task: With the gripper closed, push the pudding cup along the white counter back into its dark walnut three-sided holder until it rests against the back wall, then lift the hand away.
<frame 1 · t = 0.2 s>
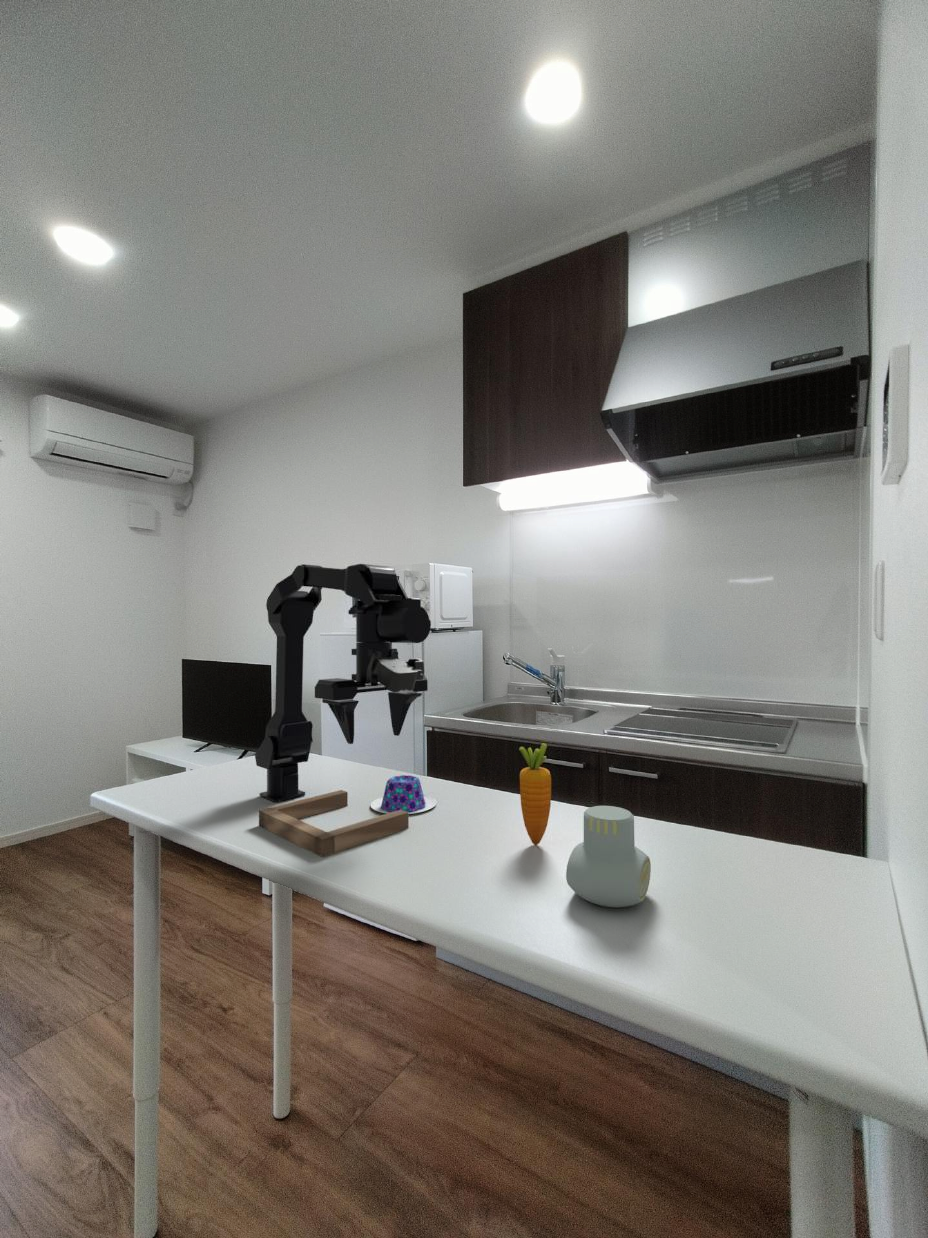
hand: (374, 739, 91), 14 cm above the table, fingers open, 9 cm apart
holder: (338, 825, 93), on the table
pudding: (403, 808, 103), on the table
carrot: (535, 846, 84), on the table
air freshener: (609, 898, 68), on the table
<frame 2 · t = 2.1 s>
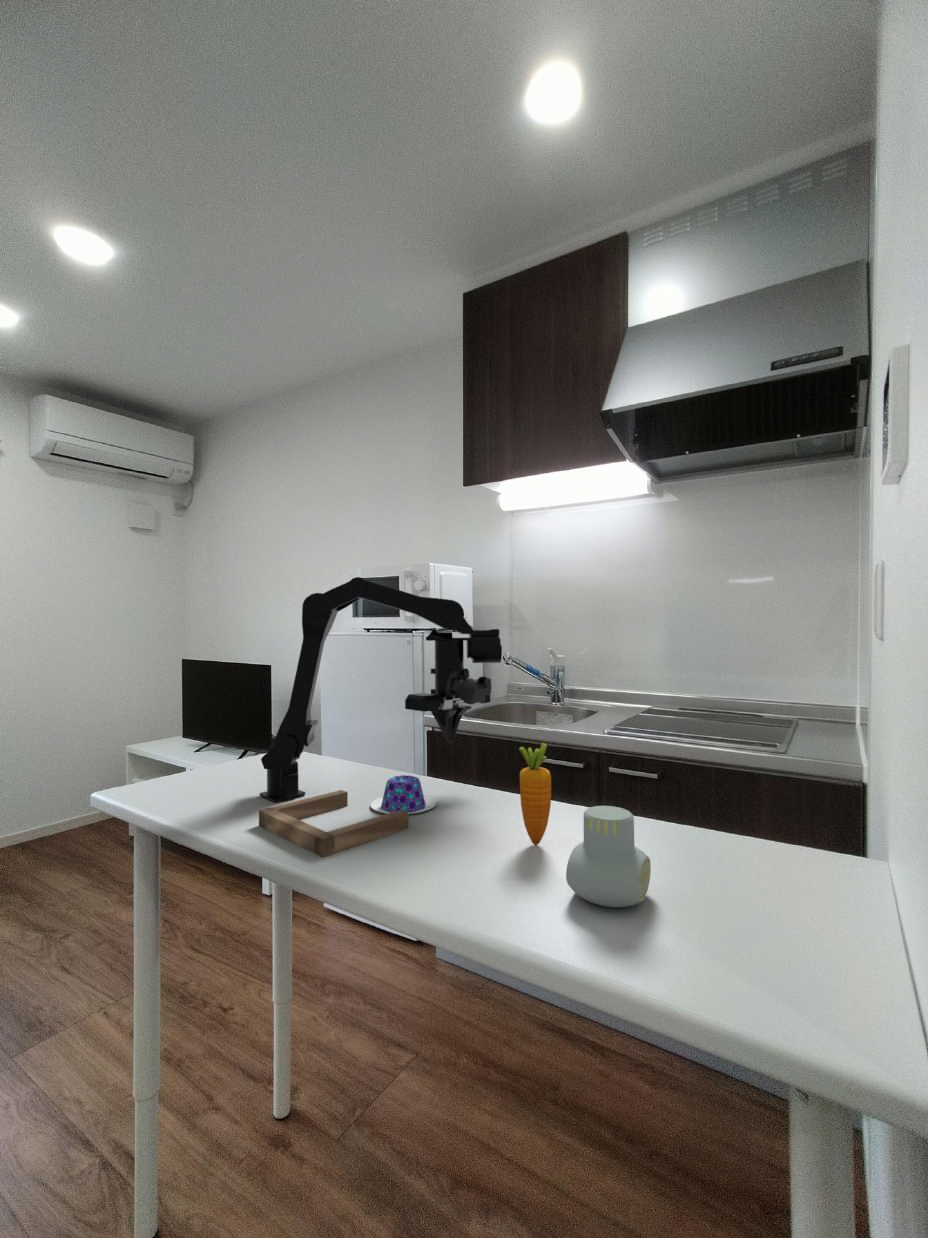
hand: (449, 742, 112), 10 cm above the table, fingers closed
nothing on the table moved.
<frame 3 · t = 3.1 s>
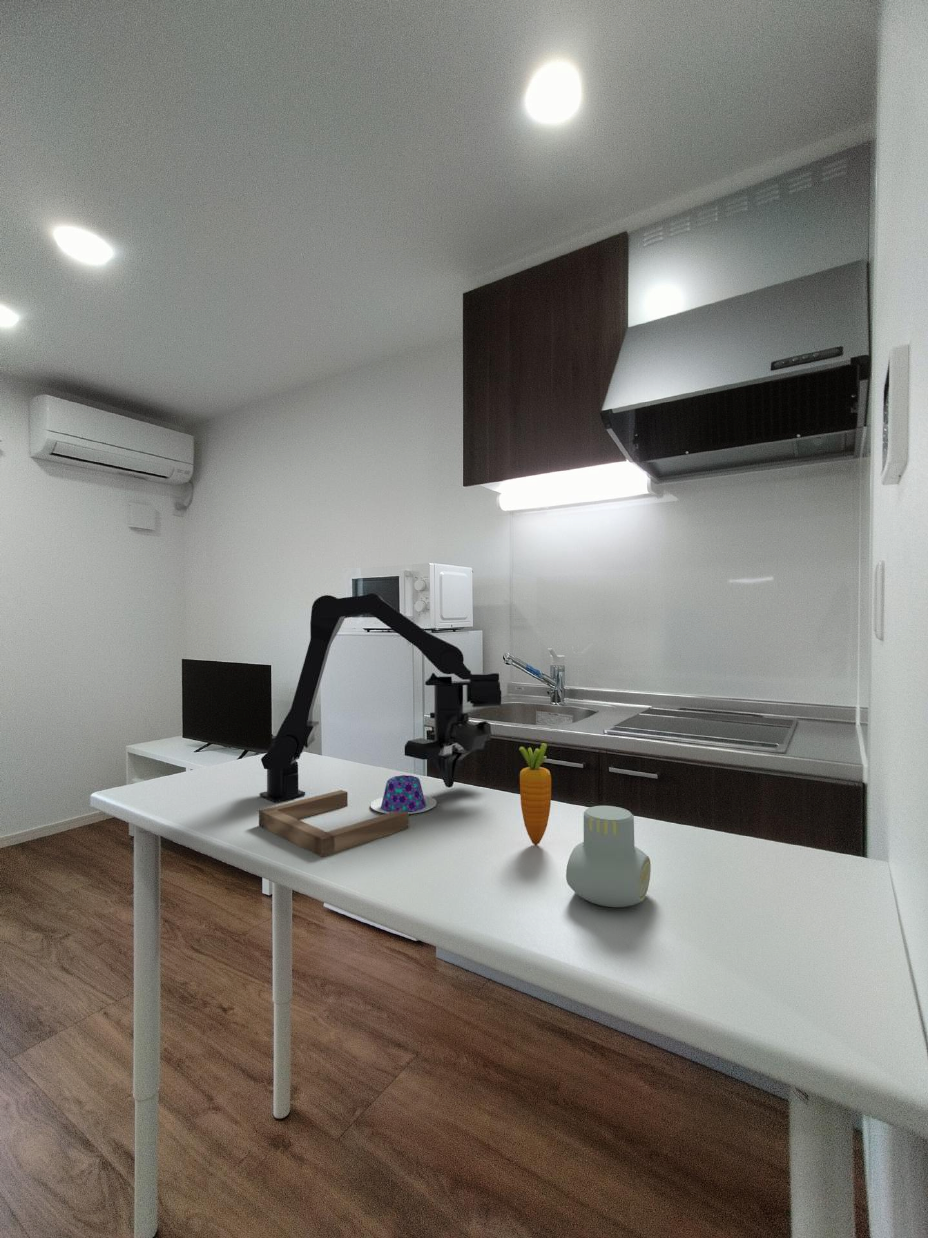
hand: (449, 787, 111), 1 cm above the table, fingers closed
nothing on the table moved.
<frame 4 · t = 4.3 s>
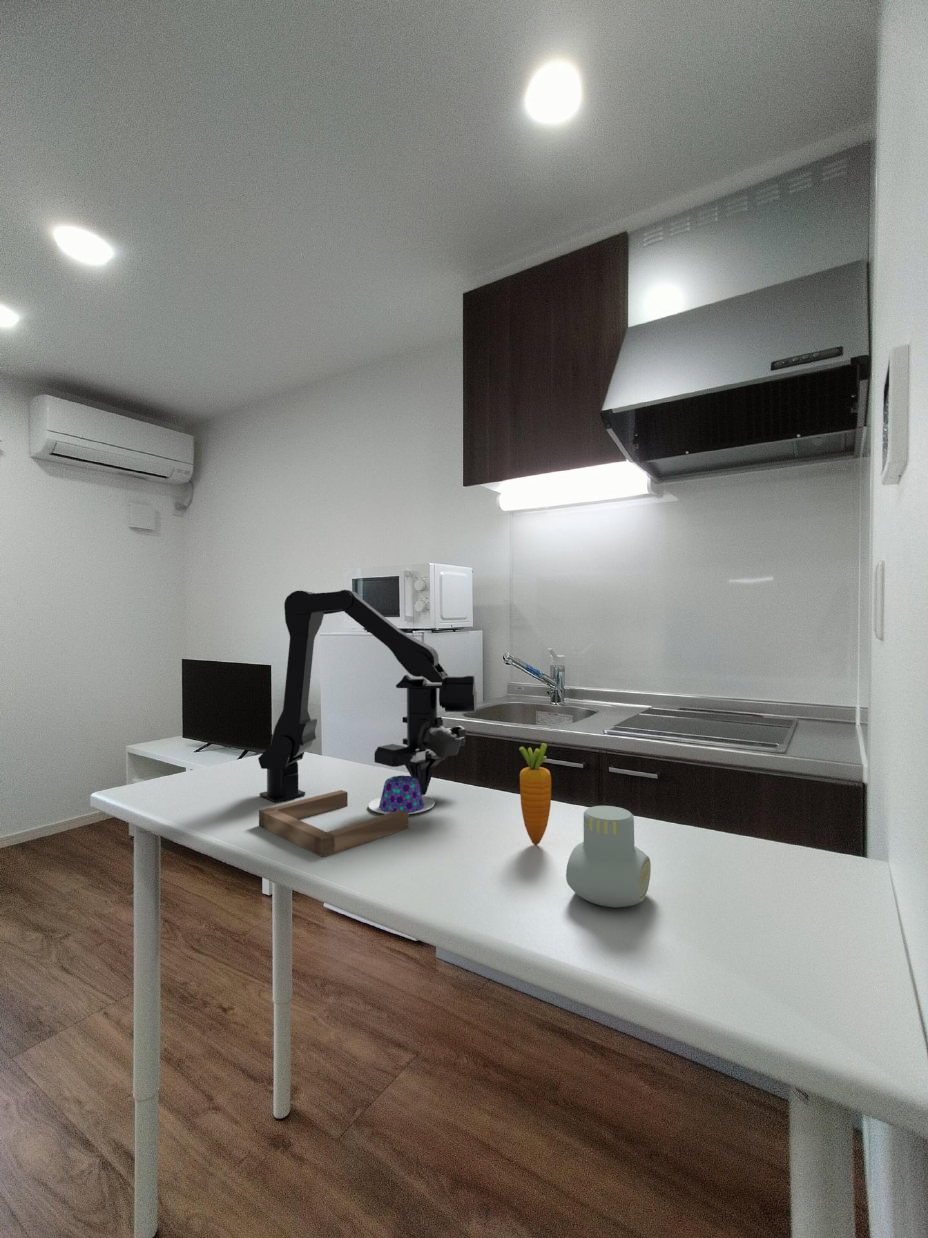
hand: (422, 794, 106), 1 cm above the table, fingers closed
pudding: (401, 809, 102), on the table, touching gripper
everything else where it was.
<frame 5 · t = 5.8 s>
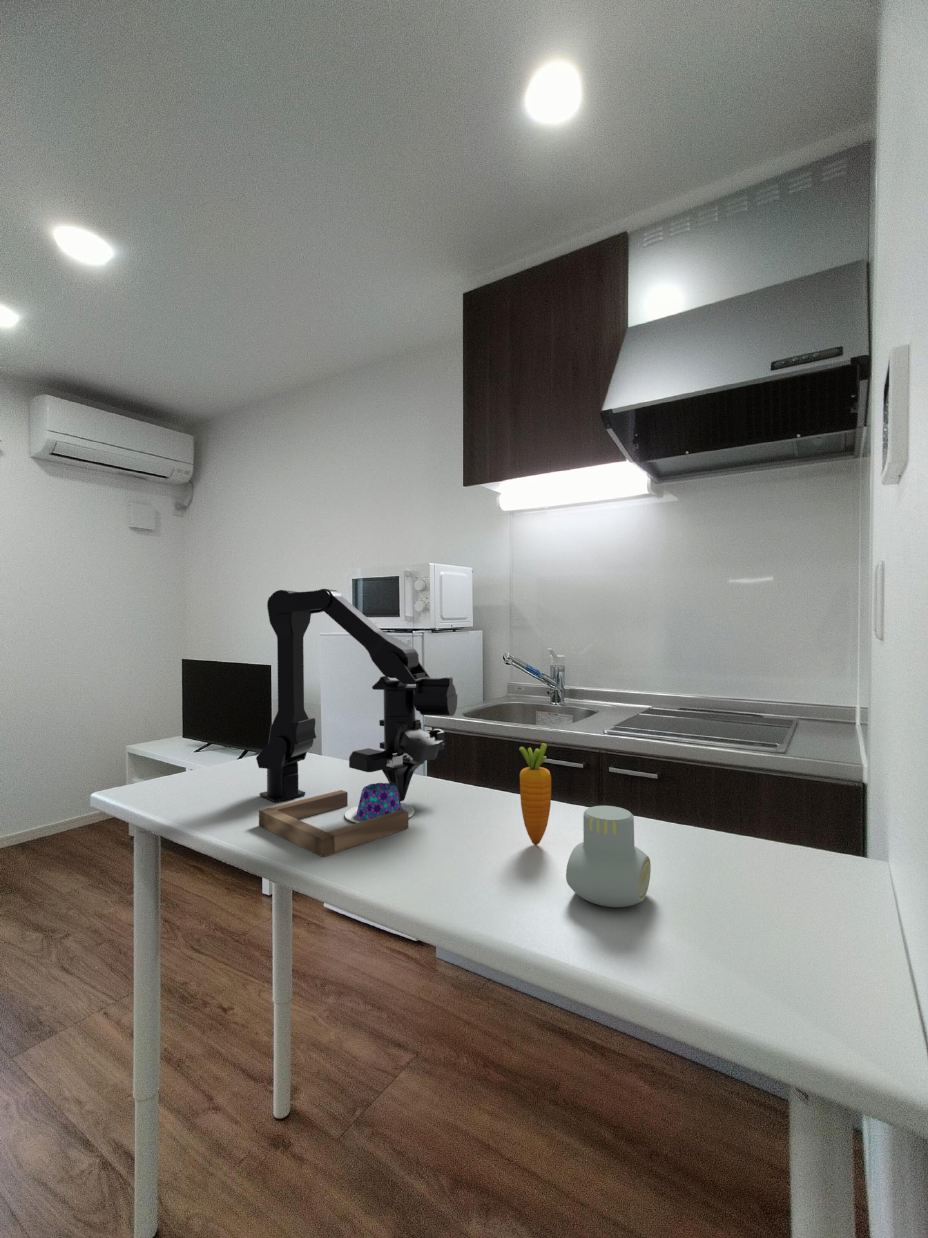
hand: (400, 800, 102), 1 cm above the table, fingers closed
pudding: (379, 818, 98), on the table, touching gripper
everything else where it was.
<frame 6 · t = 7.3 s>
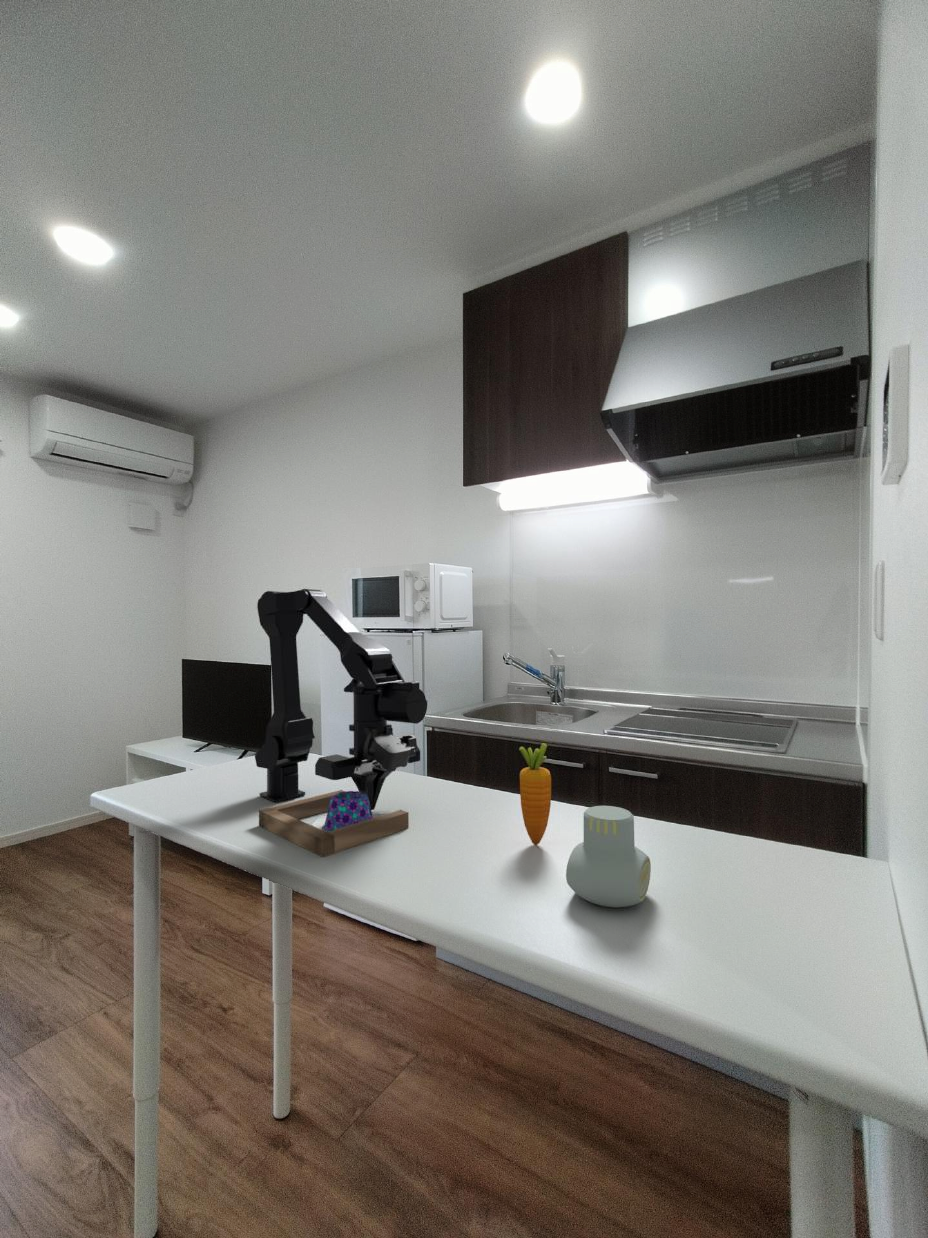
hand: (370, 809, 98), 1 cm above the table, fingers closed
pudding: (349, 828, 93), on the table
everything else where it was.
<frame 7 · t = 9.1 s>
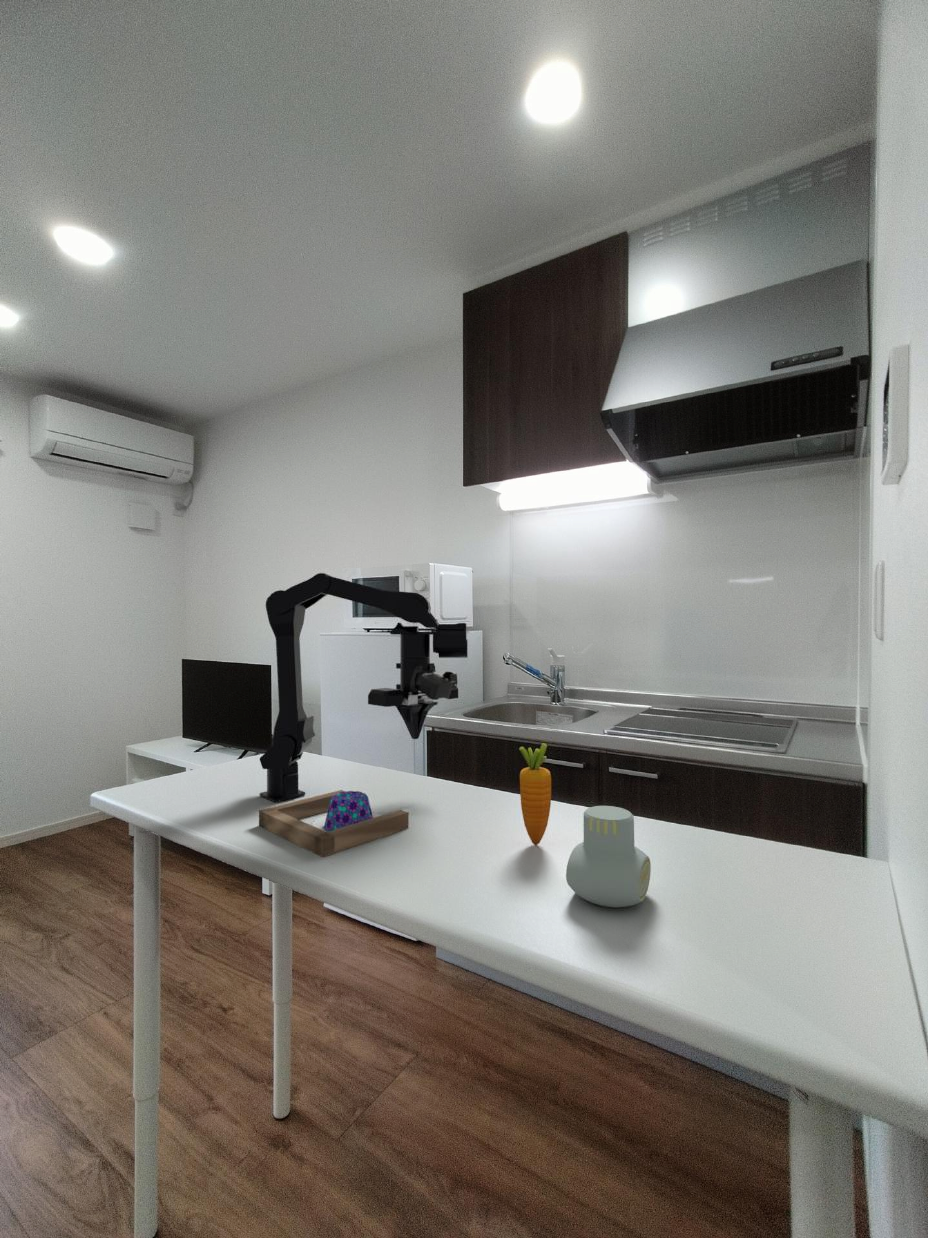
hand: (415, 738, 109), 11 cm above the table, fingers closed
nothing on the table moved.
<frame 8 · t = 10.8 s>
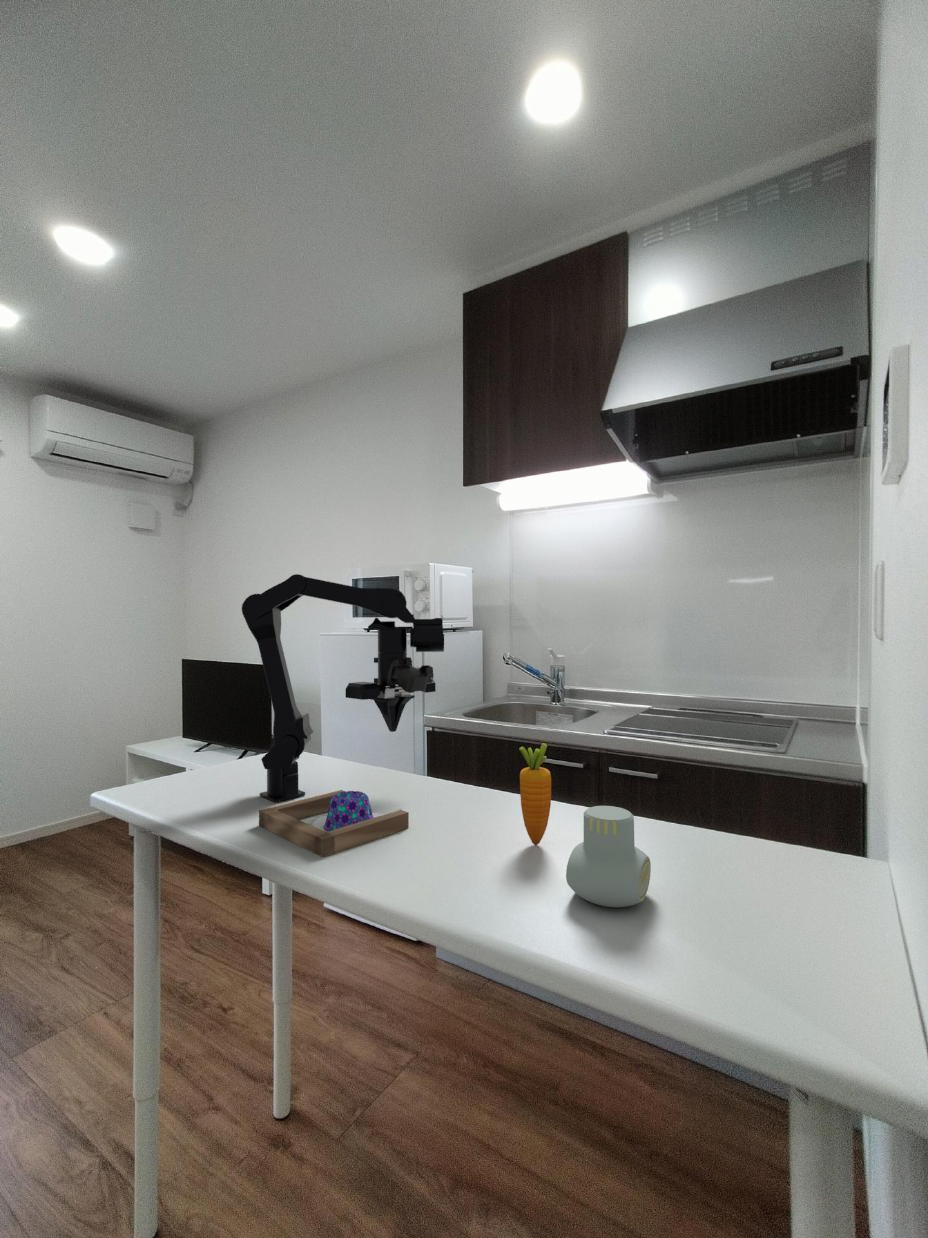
hand: (392, 731, 112), 12 cm above the table, fingers closed
nothing on the table moved.
at the end: pudding 3.4 cm from the target spot on the holder, point -0.5 cm above the holder's base; pudding tilted 0°; pudding moved 12.8 cm from its start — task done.
